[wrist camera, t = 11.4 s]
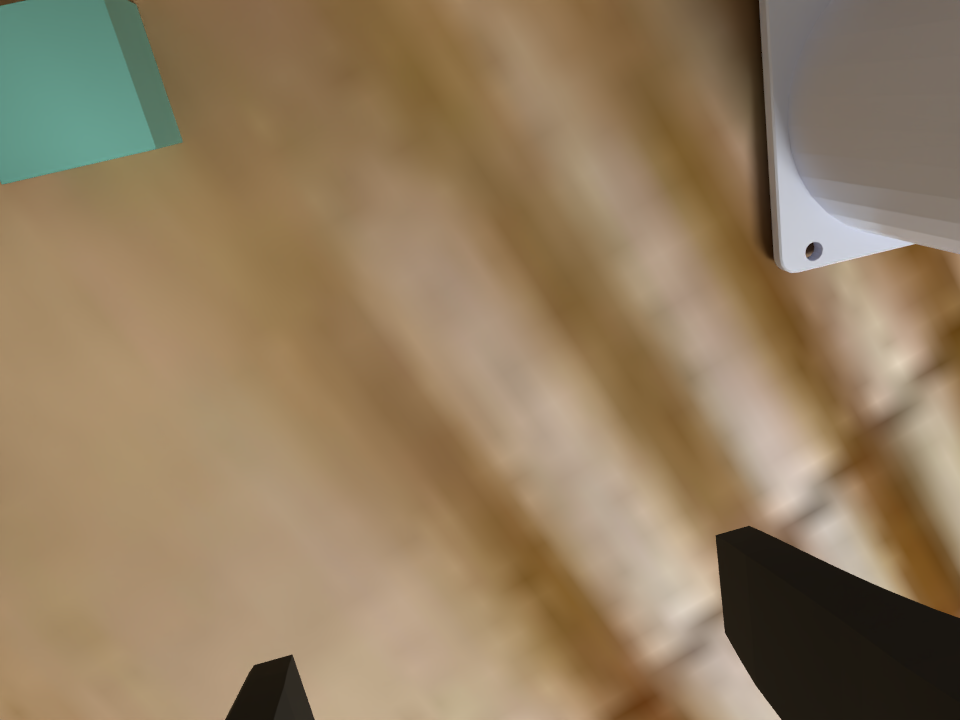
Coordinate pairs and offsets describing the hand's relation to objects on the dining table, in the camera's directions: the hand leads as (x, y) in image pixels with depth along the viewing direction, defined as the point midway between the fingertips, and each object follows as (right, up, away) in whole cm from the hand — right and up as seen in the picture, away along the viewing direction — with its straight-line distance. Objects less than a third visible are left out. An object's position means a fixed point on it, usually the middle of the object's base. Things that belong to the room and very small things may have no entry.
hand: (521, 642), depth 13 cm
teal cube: (-9, +11, +5) cm, 15 cm away
